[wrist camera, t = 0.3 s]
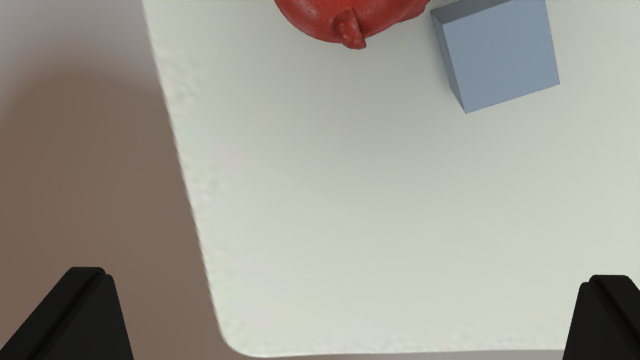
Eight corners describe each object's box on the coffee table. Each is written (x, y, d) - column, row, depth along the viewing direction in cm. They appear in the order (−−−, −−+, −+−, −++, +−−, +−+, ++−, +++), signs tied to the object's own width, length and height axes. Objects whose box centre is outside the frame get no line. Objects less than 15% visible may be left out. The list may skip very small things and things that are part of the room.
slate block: (429, 11, 37) (442, 24, 31) (514, -20, 36) (543, -11, 30) (450, 88, 39) (465, 113, 34) (531, 62, 38) (560, 83, 33)
